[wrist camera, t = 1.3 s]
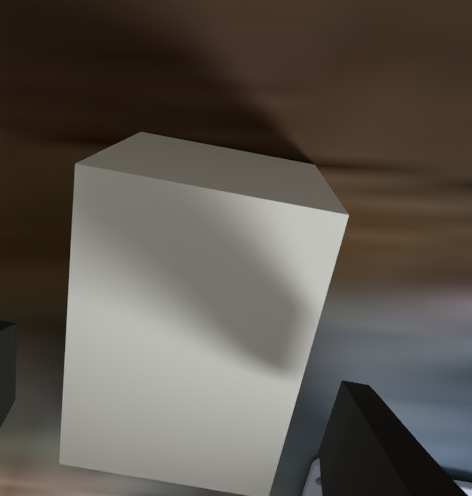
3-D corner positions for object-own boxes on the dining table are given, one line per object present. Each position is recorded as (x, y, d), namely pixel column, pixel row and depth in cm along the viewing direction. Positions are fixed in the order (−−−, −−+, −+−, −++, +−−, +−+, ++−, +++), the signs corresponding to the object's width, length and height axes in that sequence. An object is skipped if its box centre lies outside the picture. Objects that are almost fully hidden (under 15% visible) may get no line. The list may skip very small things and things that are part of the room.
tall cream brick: (263, 370, 18) (268, 498, 13) (118, 345, 18) (59, 463, 13) (314, 164, 15) (348, 214, 10) (141, 131, 15) (75, 163, 10)
